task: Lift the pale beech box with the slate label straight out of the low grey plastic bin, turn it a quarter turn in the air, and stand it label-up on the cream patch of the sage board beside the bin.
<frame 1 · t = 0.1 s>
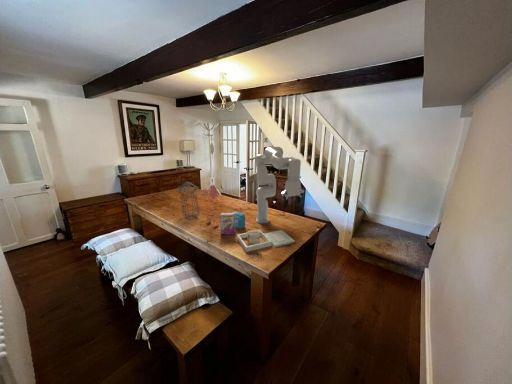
hand: (292, 203, 130), 31 cm above the table, tool pointing down, fingers open, 9 cm apart
figurine: (215, 223, 173), on the table
beech box: (253, 237, 141), in the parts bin
candy bar box: (228, 233, 156), on the table
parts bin: (253, 242, 142), on the table
geometric lantern: (190, 217, 184), on the table
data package: (238, 226, 167), on the table
sage board: (278, 238, 147), on the table
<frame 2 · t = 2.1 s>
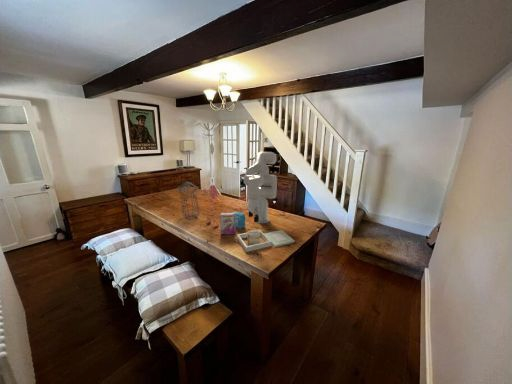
hand: (253, 219, 137), 18 cm above the table, tool pointing down, fingers open, 9 cm apart
nothing on the table moved.
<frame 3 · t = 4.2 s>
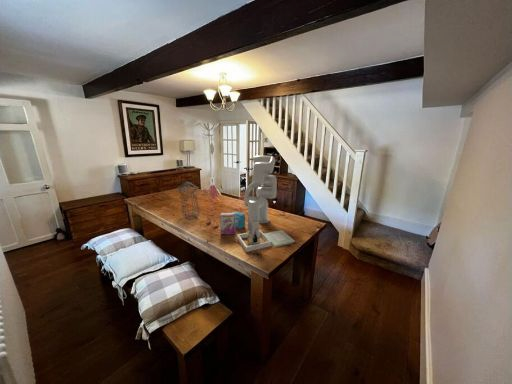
hand: (253, 240, 142), 2 cm above the table, tool pointing down, fingers closed on beech box, 5 cm apart
beech box: (253, 237, 141), in the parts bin, touching gripper
everything else where it was.
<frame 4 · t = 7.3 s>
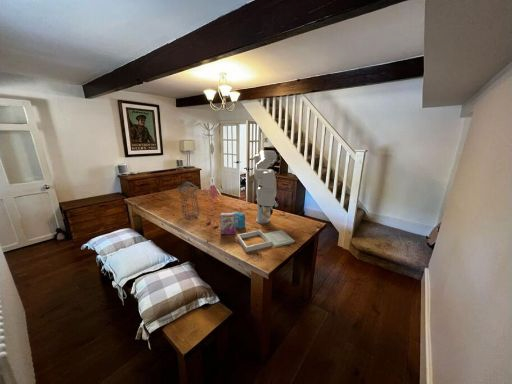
hand: (267, 213, 139), 21 cm above the table, tool pointing down, fingers closed on beech box, 5 cm apart
beech box: (267, 210, 138), point 24 cm above the table, touching gripper
everything else where it was.
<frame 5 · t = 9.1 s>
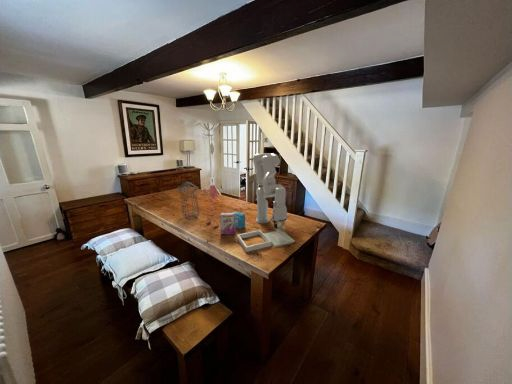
hand: (278, 227, 144), 10 cm above the table, tool pointing down, fingers closed on beech box, 5 cm apart
beech box: (279, 224, 144), point 12 cm above the table, touching gripper
everything else where it was.
when the fingers open (5 cm above the table, at t = 10.6 s): beech box drops 1 cm, resting on sage board.
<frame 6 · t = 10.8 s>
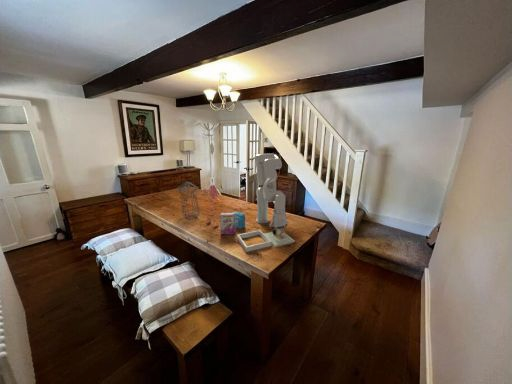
hand: (278, 232, 146), 5 cm above the table, tool pointing down, fingers open, 7 cm apart
beech box: (278, 231, 145), on the sage board, point 6 cm above the table
everything else where it was.
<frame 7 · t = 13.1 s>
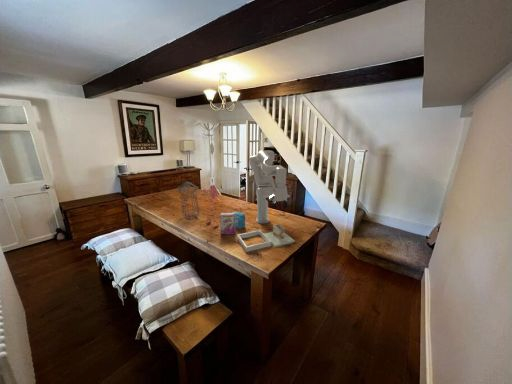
hand: (279, 207, 145), 24 cm above the table, tool pointing down, fingers open, 9 cm apart
nothing on the table moved.
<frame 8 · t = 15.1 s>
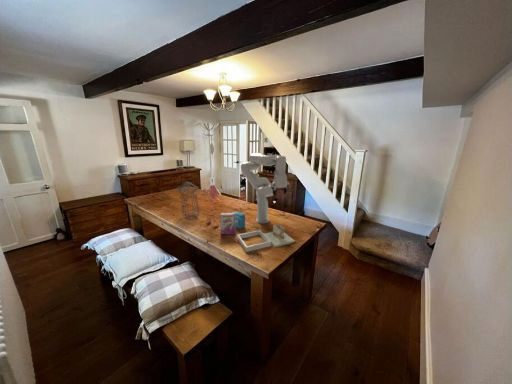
hand: (279, 194, 154), 30 cm above the table, tool pointing down, fingers open, 9 cm apart
nothing on the table moved.
at the end: beech box inside the target area on the sage board (0.0 cm from its centre), point 5.8 cm above the sage board's base; beech box tilted 0°; the gripper is holding nothing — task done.
